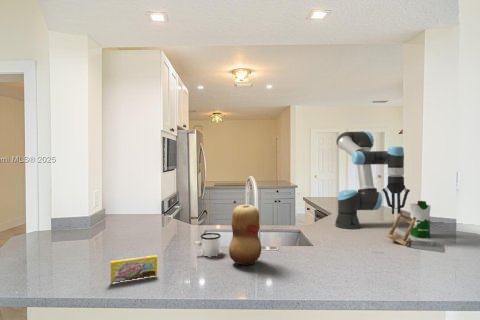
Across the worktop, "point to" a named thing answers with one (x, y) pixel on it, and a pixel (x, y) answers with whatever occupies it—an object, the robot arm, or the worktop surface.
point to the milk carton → (420, 219)
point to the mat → (427, 246)
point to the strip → (408, 242)
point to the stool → (397, 236)
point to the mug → (210, 244)
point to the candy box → (133, 268)
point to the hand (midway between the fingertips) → (396, 220)
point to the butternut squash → (245, 235)
